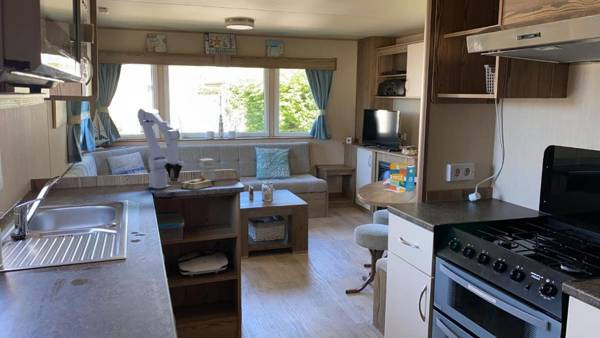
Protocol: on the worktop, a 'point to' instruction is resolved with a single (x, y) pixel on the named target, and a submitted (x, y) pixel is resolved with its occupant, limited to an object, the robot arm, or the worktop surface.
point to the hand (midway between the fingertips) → (173, 178)
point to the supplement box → (207, 168)
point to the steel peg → (172, 175)
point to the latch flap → (201, 177)
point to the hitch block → (196, 184)
